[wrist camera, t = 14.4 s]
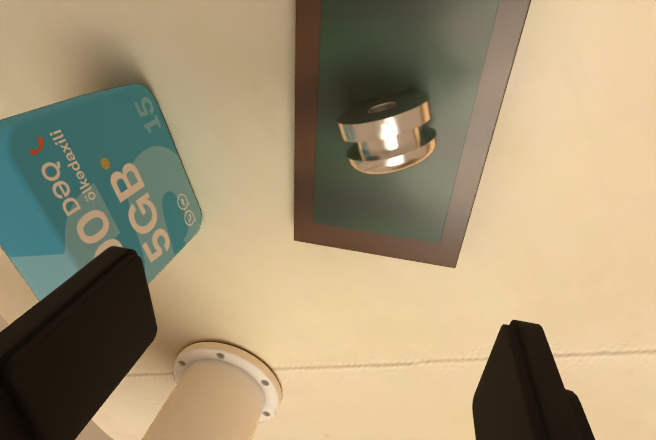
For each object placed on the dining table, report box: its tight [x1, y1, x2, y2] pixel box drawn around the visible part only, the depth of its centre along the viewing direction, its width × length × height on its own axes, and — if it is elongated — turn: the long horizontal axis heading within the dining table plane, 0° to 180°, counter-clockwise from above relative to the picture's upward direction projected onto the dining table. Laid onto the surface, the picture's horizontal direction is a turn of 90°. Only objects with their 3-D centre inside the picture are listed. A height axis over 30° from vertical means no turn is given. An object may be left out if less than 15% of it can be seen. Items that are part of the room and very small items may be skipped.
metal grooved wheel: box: [336, 92, 438, 175], centre depth 21 cm, size 5×3×5 cm, turn 106°
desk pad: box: [294, 0, 531, 268], centre depth 24 cm, size 20×12×2 cm, turn 176°
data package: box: [0, 84, 201, 301], centre depth 26 cm, size 12×4×12 cm, turn 11°
